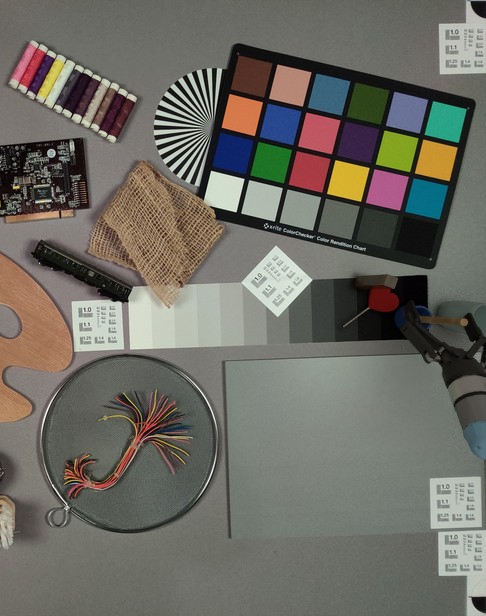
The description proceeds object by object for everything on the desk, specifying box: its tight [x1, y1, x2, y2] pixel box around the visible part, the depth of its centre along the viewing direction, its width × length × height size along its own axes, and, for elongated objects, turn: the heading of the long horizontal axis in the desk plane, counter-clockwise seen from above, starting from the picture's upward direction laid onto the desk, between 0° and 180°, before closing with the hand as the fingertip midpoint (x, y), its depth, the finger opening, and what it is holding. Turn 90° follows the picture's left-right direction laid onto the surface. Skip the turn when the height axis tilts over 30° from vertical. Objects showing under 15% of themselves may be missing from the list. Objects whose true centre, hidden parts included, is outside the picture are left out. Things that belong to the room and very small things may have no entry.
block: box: [352, 273, 399, 291], centre depth 137 cm, size 3×3×14 cm
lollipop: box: [342, 289, 400, 328], centre depth 143 cm, size 8×1×15 cm
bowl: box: [393, 305, 433, 331], centre depth 141 cm, size 6×6×5 cm
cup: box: [437, 300, 486, 336], centre depth 138 cm, size 8×8×10 cm
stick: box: [419, 316, 468, 326], centre depth 133 cm, size 2×2×20 cm
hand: (437, 310), depth 133 cm, fingers open, 13 cm apart
